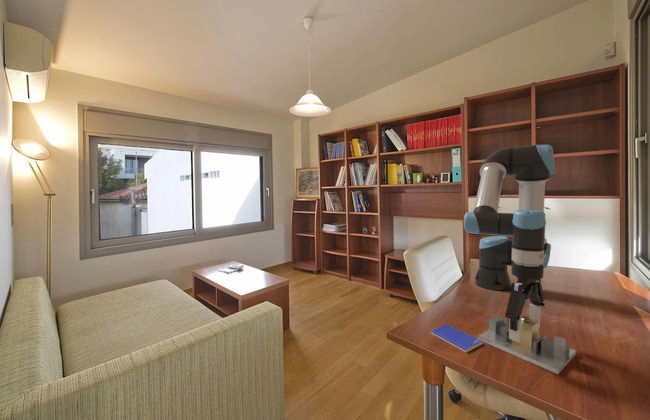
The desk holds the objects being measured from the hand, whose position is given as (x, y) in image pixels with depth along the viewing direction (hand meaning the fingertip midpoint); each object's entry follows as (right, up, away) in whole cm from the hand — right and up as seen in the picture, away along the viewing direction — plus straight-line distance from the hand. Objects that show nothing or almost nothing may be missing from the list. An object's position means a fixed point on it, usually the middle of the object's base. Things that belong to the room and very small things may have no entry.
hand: (524, 332), depth 82 cm
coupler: (0, -3, 0) cm, 3 cm away
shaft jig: (0, -4, 0) cm, 4 cm away
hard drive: (-18, -5, +6) cm, 19 cm away
